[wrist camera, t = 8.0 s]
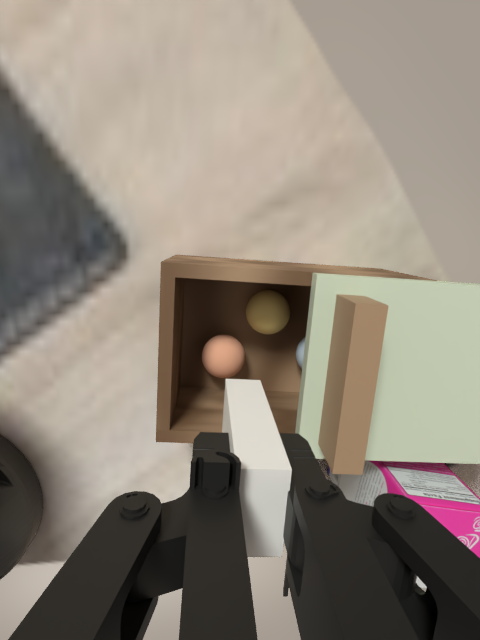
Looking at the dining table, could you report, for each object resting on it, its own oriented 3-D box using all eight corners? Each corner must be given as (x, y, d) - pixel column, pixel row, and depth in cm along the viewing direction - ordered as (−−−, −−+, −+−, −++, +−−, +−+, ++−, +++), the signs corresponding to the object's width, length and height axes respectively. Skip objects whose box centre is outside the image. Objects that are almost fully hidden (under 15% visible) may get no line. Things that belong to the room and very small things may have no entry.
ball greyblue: (290, 366, 31) (298, 381, 28) (294, 327, 30) (303, 338, 27) (329, 368, 31) (342, 383, 28) (334, 329, 30) (348, 340, 27)
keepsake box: (171, 391, 32) (155, 441, 24) (176, 254, 29) (161, 262, 22) (361, 399, 33) (406, 450, 25) (380, 268, 31) (437, 280, 23)
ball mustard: (242, 327, 30) (245, 338, 27) (245, 285, 29) (249, 292, 26) (283, 329, 30) (291, 340, 27) (288, 288, 29) (296, 295, 26)
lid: (293, 449, 24) (307, 490, 20) (312, 272, 22) (333, 280, 18) (534, 457, 25) (592, 497, 21) (577, 290, 23) (650, 301, 19)
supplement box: (388, 481, 35) (469, 598, 24) (325, 472, 34) (377, 587, 23) (406, 422, 34) (501, 516, 22) (341, 412, 33) (405, 502, 22)
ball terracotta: (201, 368, 30) (199, 383, 27) (203, 328, 30) (202, 339, 27) (242, 370, 31) (245, 385, 28) (245, 331, 30) (248, 342, 27)
